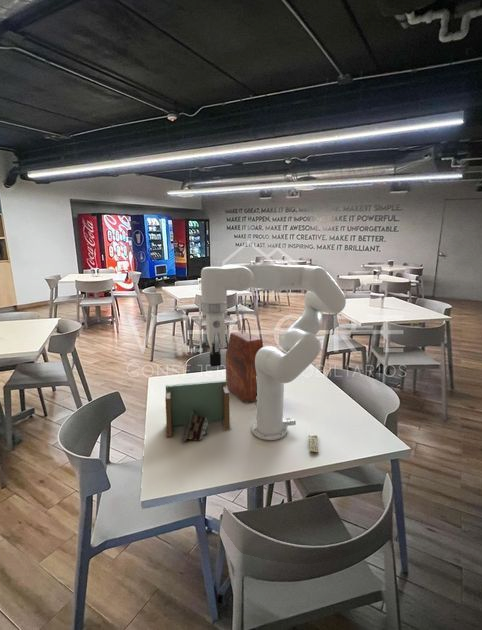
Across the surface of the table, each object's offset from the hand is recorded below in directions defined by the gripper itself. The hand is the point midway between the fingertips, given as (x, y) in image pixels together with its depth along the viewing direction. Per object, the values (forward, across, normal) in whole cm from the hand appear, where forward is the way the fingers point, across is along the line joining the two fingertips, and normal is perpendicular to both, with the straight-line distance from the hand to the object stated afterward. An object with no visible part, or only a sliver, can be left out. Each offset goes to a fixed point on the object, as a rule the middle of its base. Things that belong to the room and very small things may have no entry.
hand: (215, 365), depth 105 cm
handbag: (+29, +39, -18) cm, 52 cm away
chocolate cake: (+29, +10, +6) cm, 31 cm away
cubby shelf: (+29, +14, +5) cm, 33 cm away
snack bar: (+29, -6, -32) cm, 44 cm away
